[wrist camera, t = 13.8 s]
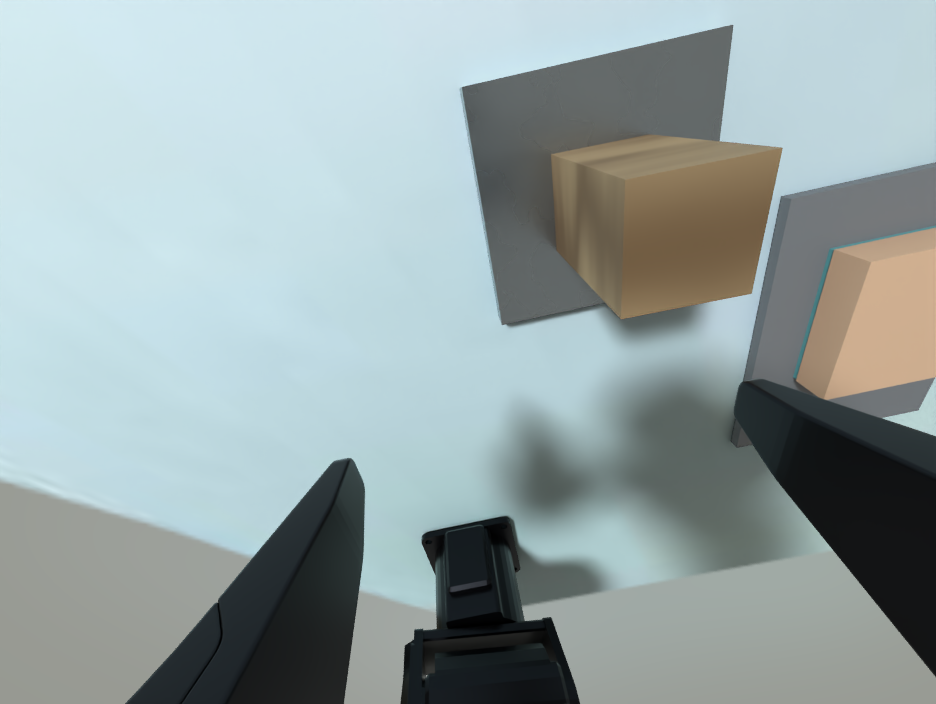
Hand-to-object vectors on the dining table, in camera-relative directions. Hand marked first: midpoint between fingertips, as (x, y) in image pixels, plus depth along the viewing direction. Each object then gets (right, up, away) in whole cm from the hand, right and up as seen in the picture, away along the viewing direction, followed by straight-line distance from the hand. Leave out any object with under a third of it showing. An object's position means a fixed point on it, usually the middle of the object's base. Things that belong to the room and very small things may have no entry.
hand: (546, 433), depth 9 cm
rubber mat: (+20, +4, +14) cm, 25 cm away
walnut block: (+4, +8, +8) cm, 12 cm away
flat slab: (+21, 0, +14) cm, 25 cm away
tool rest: (+4, +9, +9) cm, 13 cm away
